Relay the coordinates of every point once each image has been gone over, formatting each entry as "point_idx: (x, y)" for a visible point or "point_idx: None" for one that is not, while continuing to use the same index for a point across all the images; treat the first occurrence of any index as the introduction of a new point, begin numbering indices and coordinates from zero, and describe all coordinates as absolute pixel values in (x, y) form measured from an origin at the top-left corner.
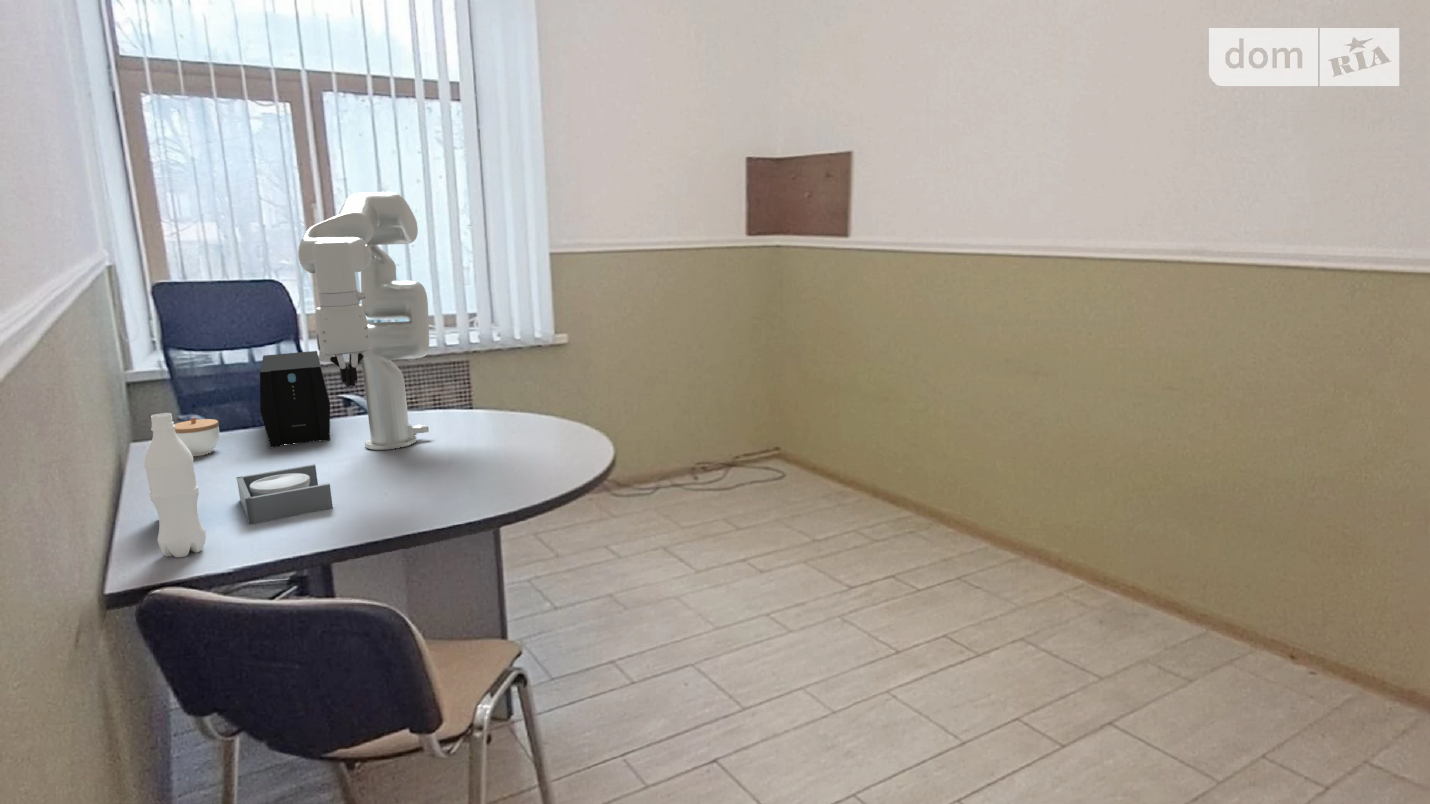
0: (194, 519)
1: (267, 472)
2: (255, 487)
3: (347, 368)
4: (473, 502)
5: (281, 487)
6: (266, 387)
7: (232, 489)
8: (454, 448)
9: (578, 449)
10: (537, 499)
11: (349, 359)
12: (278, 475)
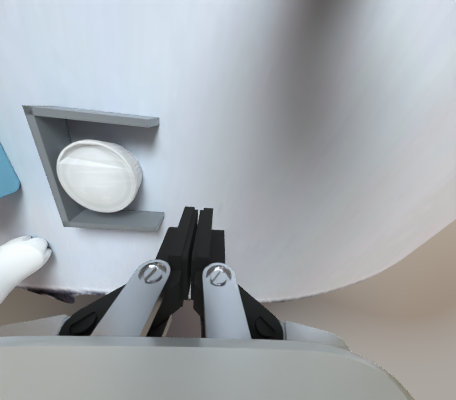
0: (24, 278)
1: (72, 114)
2: (67, 189)
3: (181, 305)
4: (267, 273)
5: (101, 209)
6: None
7: (25, 19)
8: (396, 53)
9: (452, 198)
10: (303, 292)
11: (203, 305)
12: (93, 144)
